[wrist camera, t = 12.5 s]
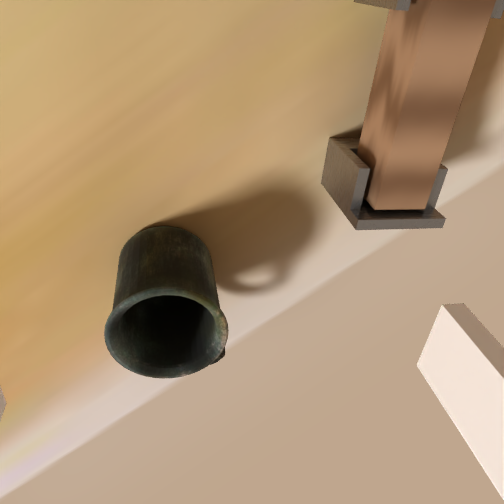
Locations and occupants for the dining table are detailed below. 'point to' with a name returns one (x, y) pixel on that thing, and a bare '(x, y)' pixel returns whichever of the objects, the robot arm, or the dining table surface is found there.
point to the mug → (166, 306)
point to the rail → (418, 97)
